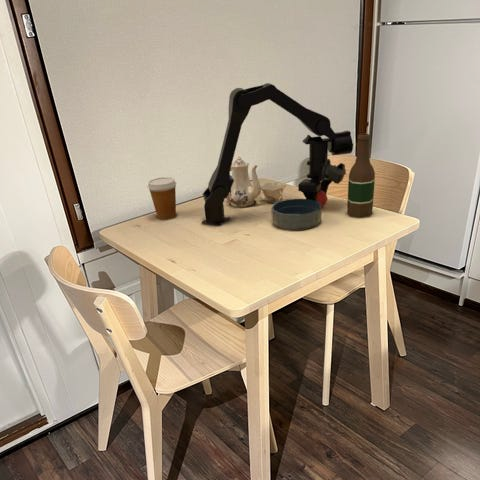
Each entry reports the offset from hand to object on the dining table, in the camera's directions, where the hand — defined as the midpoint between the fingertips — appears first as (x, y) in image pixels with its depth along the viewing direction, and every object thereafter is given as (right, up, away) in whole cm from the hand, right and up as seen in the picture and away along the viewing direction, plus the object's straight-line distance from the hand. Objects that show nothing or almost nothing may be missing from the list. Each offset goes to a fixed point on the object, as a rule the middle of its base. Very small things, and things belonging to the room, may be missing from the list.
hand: (317, 205), depth 161 cm
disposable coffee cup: (-51, -3, +5) cm, 51 cm away
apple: (0, -1, 0) cm, 1 cm away
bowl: (-8, -7, -9) cm, 14 cm away
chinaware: (-23, +4, +12) cm, 27 cm away
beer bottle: (+12, -4, -7) cm, 15 cm away
